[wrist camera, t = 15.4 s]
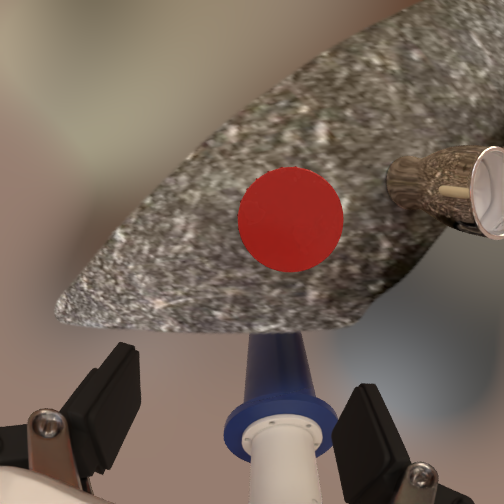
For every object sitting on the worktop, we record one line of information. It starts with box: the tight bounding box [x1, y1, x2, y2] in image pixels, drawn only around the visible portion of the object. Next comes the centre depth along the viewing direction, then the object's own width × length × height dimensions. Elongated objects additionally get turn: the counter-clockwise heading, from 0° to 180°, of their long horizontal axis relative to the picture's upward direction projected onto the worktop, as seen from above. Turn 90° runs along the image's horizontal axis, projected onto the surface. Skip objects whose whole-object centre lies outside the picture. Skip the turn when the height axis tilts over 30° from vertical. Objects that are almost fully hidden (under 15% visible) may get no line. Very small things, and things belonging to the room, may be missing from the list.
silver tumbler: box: [386, 145, 504, 240], centre depth 21 cm, size 7×7×15 cm
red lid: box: [237, 166, 343, 272], centre depth 19 cm, size 7×7×2 cm
